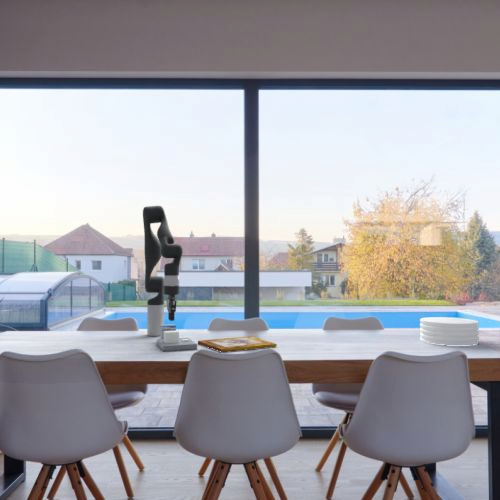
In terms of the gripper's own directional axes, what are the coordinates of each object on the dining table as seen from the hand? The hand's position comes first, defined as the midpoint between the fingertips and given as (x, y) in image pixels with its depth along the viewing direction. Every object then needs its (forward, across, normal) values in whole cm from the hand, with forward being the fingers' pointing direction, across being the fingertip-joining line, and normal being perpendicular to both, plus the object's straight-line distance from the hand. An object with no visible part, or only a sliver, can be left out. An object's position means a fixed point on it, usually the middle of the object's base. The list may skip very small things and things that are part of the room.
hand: (171, 320), depth 228 cm
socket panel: (+13, 0, +2) cm, 13 cm away
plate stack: (+14, +34, +138) cm, 143 cm away
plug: (+13, 0, 0) cm, 13 cm away
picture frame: (+14, +6, +32) cm, 35 cm away
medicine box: (+13, -17, +2) cm, 22 cm away
